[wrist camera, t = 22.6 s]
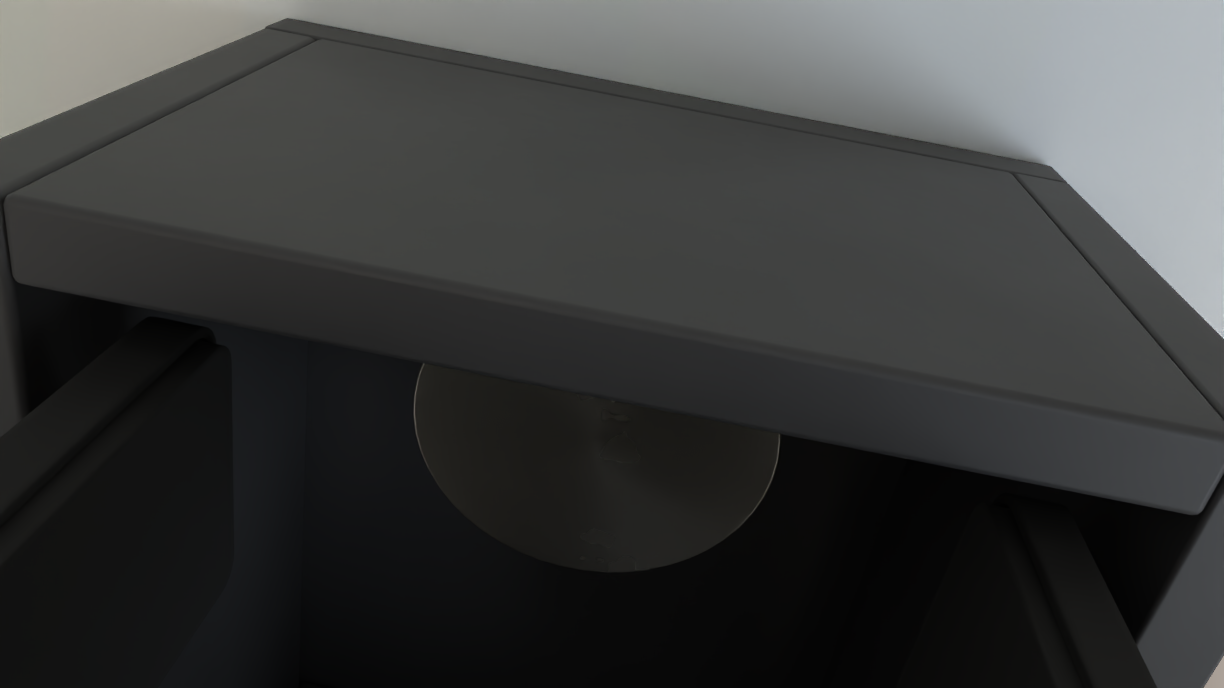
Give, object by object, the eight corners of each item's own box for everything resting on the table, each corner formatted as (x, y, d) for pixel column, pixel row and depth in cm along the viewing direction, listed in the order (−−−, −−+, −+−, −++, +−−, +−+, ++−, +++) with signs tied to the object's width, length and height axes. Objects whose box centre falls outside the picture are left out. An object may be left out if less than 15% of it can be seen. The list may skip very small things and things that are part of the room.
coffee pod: (811, 182, 14) (834, 326, 11) (728, 425, 16) (724, 606, 13) (508, 109, 14) (432, 229, 10) (468, 363, 16) (395, 528, 13)
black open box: (285, 17, 15) (-103, 175, 8) (1052, 166, 15) (1348, 461, 8) (277, 670, 21) (60, 1077, 14) (812, 778, 21) (857, 1242, 14)
